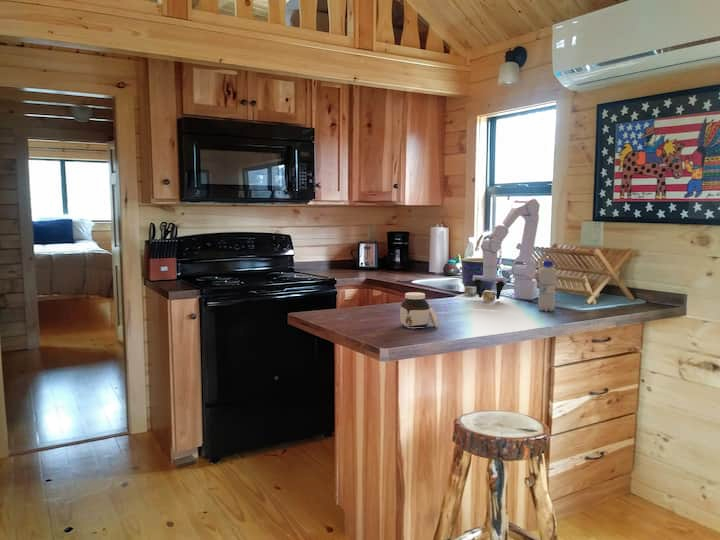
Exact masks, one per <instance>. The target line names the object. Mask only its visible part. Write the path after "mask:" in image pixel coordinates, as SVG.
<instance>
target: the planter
mask: <svg viewBox="0 0 720 540" xmlns="http://www.w3.org/2000/svg"><path fill="white" fill-rule="evenodd" d="M483 258H484V257H467V258H461V276H462V278H461V279H462V284H463V287H464V288H465V287H467V286H473V287H476V285H475V284H474V282H475V280H473V276H474V275H475V276H483ZM498 264H499V260H498V259H497V267H498ZM485 280H487V279H485ZM496 283H497V282H492V281H483V287H482V293H483V291H486V290H490V291H493V289H494V287H496ZM476 293H478V290H477V288H476Z"/></svg>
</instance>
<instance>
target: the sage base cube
mask: <svg viewBox="0 0 720 540" xmlns="http://www.w3.org/2000/svg"><path fill="white" fill-rule="evenodd" d="M464 293H465V296H470V297H474V296H476V294H477V292H476V287H473V286H467V287H464Z"/></svg>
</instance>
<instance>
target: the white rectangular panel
mask: <svg viewBox="0 0 720 540" xmlns="http://www.w3.org/2000/svg"><path fill="white" fill-rule="evenodd" d="M506 298H507V297H506V296H500V297H499V299H496V295H495V300H494V301H483V294H482V297H481V298H479V294H478V293H476V296H474V297H470V296H465V292H464V293H461V294H457V295H455V296H453V297H450V299H453V300H454V299H455V300H462V301H463V300H465V301H475V302H483V303H494V304H496V303H497V302H499V301H502V300H504V299H506Z"/></svg>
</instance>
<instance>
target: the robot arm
mask: <svg viewBox="0 0 720 540" xmlns="http://www.w3.org/2000/svg"><path fill="white" fill-rule="evenodd" d="M539 211H540V203H539V202H538V200H537V199H536V198H516V199H515V200H514V201H513V203H512V204H511V209H510V210H509V212H508V214H507V215H506V217H505V218H504V220H503V221H502V223H501V224H498V225H495V226H494V229H493V231H492V232H491V233H490V234H489V235H488V237H487V238H485V239H484V240H482V243H481V244H480V249H481V250H482V255H483V257H482V258H483V276H475V275H474V276H473V280H475V282H474V284H475V285H476V288H477V290H478V292H477V295H479V298H481V297H482V295H483V292H482V287H483V281H492V282H496V283H495V287H496V290H495V291H496V292H495V296H496V299H499V297H501V294H502V293H501V292H502V291H503V289H504V286H505V284H506V283H508V278H507V277H503V276H501V277H500V276H498V275H497V273H498V266H497V260H498V252H499V251H500V250H501V248H502V247H501V246H502V244H503V241H504V240H505V238H506V237H507V236H508V235H509V233H510V232H509V228H510V227H511V226H512V225H513V224H514V222H516V220H517V219H518V218H519V217H521V218H523V220H524V221H525V222H524V226H523V233H522V237H521V243H520V249H519V253H518V256H517V257H516V258H514V261H513V264H512V266H511V268H510V270H511V275H513V278H514V290H513V291H514V294H513V296H511V297H510V298H511V299H520V300H521V299H522V300H532V301H533V300H534V299H536V298H537V297H538V294H537V293H538V281H537V279H534V277H535V276H536V273H537V270H536V264H537V263H536V261H535V260H534V259H533V253H534V247H535V242H536V236H537V231H538V225H539V220H540V219H539V218H540V215H539ZM485 279H487V280H485Z"/></svg>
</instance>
